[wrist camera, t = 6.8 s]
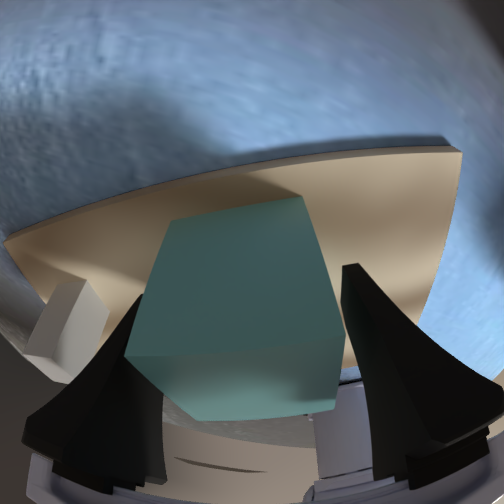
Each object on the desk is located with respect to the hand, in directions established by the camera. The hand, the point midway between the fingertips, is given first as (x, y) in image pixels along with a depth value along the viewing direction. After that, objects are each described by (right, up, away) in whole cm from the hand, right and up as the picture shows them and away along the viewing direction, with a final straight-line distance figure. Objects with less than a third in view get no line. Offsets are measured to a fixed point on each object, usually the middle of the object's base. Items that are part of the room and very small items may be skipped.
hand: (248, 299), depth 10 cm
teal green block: (0, +1, +2) cm, 2 cm away
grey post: (-10, -1, +3) cm, 10 cm away
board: (-1, -1, +5) cm, 5 cm away
